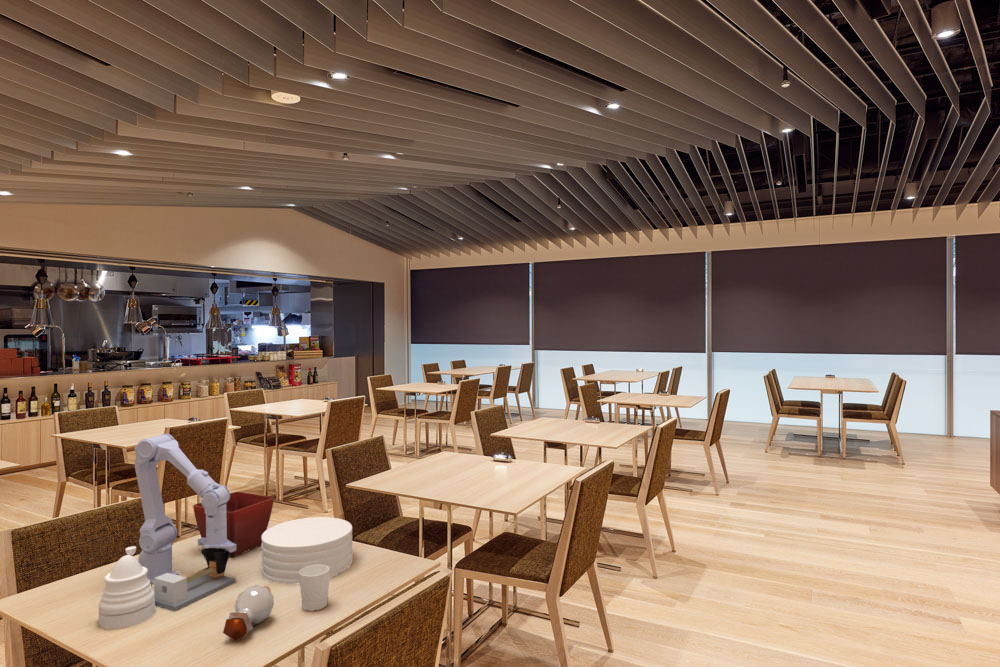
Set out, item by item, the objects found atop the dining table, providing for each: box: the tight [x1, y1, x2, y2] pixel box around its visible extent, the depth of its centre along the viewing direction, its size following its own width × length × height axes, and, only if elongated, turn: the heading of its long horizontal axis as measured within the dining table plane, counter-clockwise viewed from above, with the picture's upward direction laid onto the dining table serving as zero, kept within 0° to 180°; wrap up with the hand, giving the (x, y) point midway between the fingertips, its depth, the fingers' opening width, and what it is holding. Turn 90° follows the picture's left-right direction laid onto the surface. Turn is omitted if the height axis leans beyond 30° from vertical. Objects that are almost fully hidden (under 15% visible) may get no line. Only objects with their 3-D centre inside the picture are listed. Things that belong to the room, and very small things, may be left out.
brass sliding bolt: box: [185, 559, 226, 583], centre depth 179 cm, size 3×12×5 cm, turn 155°
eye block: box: [153, 573, 236, 612], centre depth 176 cm, size 12×20×7 cm, turn 155°
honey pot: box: [98, 545, 156, 630], centre depth 161 cm, size 13×13×18 cm
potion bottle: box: [222, 584, 275, 642], centre depth 155 cm, size 9×10×15 cm
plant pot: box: [192, 491, 275, 558], centre depth 210 cm, size 19×19×17 cm
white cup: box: [299, 565, 330, 612], centre depth 167 cm, size 8×8×10 cm
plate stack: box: [261, 516, 353, 585], centre depth 195 cm, size 28×28×12 cm
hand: (217, 571), depth 184 cm, fingers closed on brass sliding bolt, 3 cm apart
